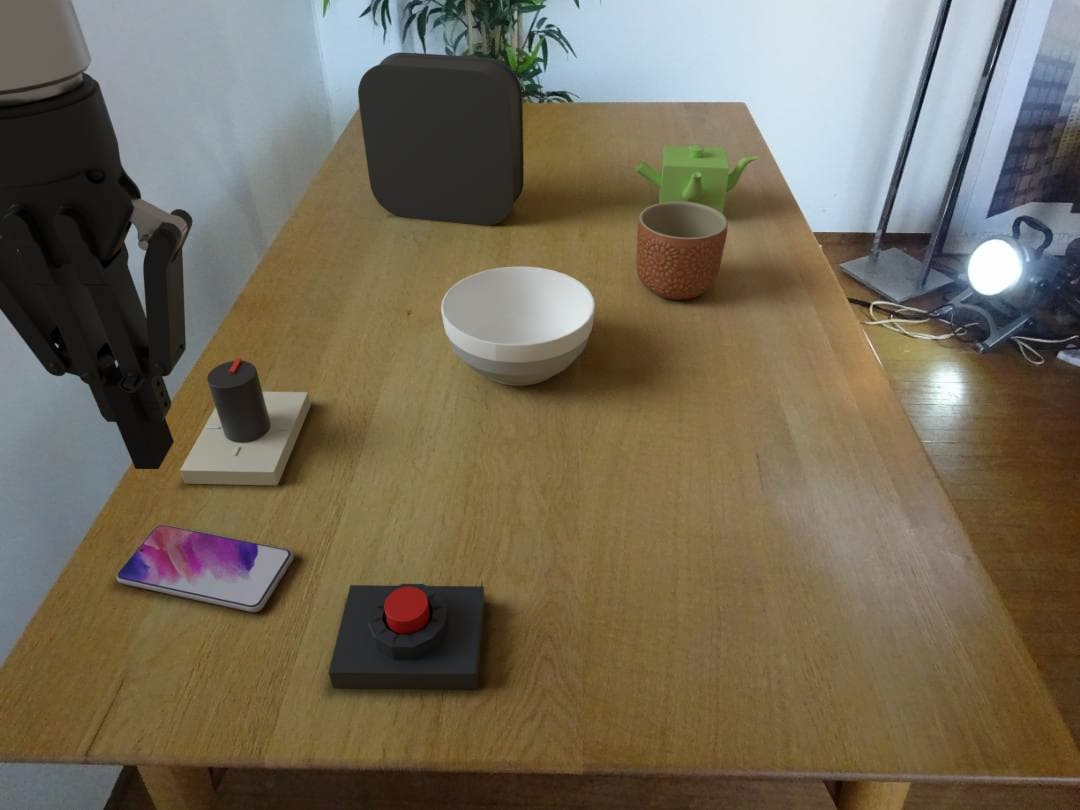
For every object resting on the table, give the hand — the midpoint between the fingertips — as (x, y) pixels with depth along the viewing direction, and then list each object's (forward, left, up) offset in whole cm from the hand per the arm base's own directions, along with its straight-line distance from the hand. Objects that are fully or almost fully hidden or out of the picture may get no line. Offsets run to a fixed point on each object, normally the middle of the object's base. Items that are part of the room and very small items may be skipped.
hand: (155, 454), depth 53 cm
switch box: (+12, +8, -24) cm, 28 cm away
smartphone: (-10, +8, -24) cm, 28 cm away
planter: (+18, +77, -25) cm, 83 cm away
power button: (+12, +8, -21) cm, 25 cm away
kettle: (+14, +104, -25) cm, 108 cm away
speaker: (-25, +89, -25) cm, 96 cm away
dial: (-18, +25, -22) cm, 38 cm away
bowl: (+4, +51, -25) cm, 57 cm away
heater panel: (-18, +25, -24) cm, 39 cm away
